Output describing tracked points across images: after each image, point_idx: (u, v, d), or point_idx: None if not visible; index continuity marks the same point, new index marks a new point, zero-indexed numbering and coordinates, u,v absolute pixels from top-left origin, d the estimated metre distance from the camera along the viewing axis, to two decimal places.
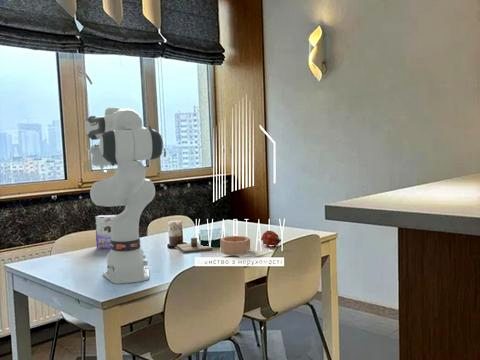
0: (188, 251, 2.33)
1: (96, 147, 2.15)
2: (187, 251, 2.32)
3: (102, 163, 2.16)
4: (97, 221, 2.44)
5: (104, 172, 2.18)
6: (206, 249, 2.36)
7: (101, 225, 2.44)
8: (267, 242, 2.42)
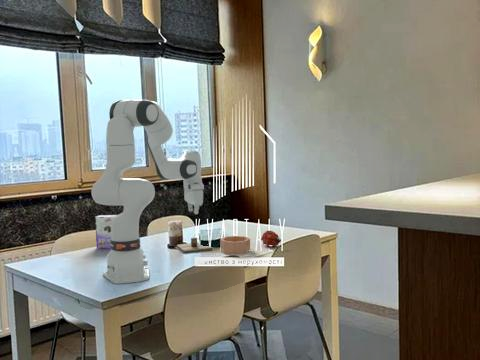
0: (188, 251, 2.33)
1: None
2: (187, 251, 2.32)
3: (186, 199, 2.43)
4: (97, 221, 2.44)
5: None
6: (206, 249, 2.36)
7: (101, 225, 2.44)
8: (267, 242, 2.42)
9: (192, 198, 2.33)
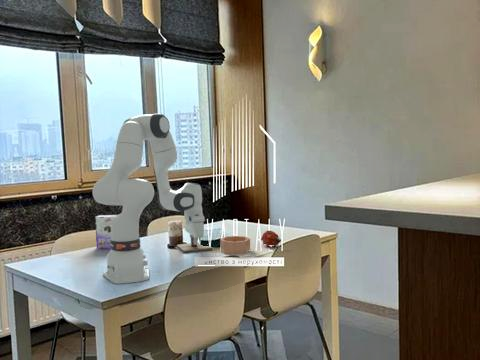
0: (188, 251, 2.33)
1: None
2: (187, 251, 2.32)
3: (187, 230, 2.45)
4: (97, 221, 2.44)
5: None
6: (206, 249, 2.36)
7: (101, 225, 2.44)
8: (267, 242, 2.42)
9: (193, 230, 2.34)
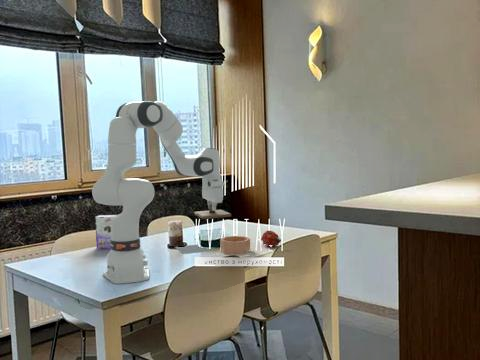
0: (207, 217, 2.29)
1: None
2: (206, 217, 2.29)
3: (204, 197, 2.41)
4: (97, 221, 2.44)
5: (208, 206, 2.39)
6: (225, 215, 2.33)
7: (101, 225, 2.44)
8: (267, 242, 2.42)
9: (212, 195, 2.31)
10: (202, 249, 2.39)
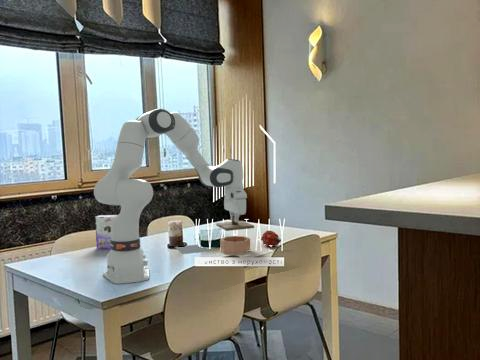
0: (230, 229, 2.27)
1: None
2: (229, 229, 2.27)
3: (226, 208, 2.39)
4: (97, 221, 2.44)
5: (231, 217, 2.37)
6: (248, 227, 2.30)
7: (101, 225, 2.44)
8: (267, 242, 2.42)
9: (234, 207, 2.29)
10: (202, 249, 2.39)
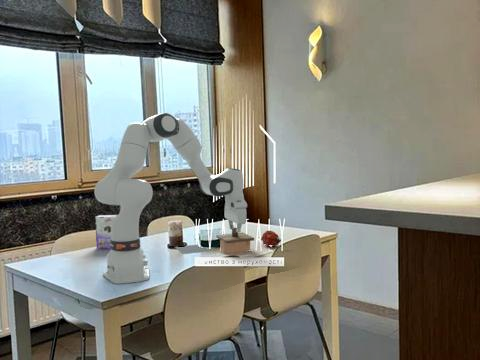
0: (230, 241, 2.27)
1: None
2: (229, 241, 2.27)
3: (227, 217, 2.39)
4: (97, 221, 2.44)
5: (229, 226, 2.39)
6: (248, 239, 2.30)
7: (101, 225, 2.44)
8: (267, 242, 2.42)
9: (235, 216, 2.29)
10: (202, 249, 2.39)
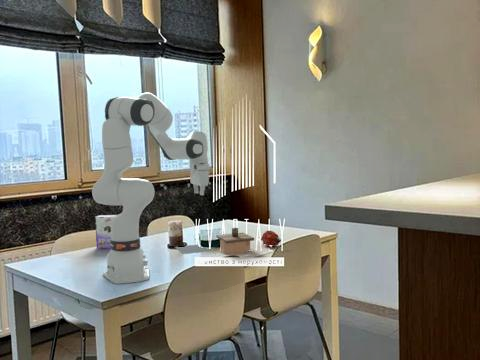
0: (230, 241, 2.27)
1: None
2: (229, 241, 2.27)
3: (192, 182, 2.41)
4: (97, 221, 2.44)
5: (194, 190, 2.41)
6: (248, 239, 2.30)
7: (101, 225, 2.44)
8: (267, 242, 2.42)
9: (198, 179, 2.30)
10: (202, 249, 2.39)
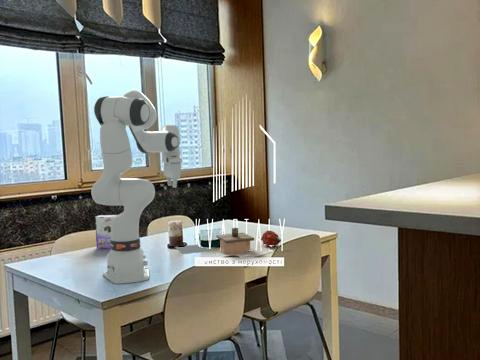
0: (230, 241, 2.27)
1: None
2: (229, 241, 2.27)
3: (165, 174, 2.43)
4: (97, 221, 2.44)
5: (168, 183, 2.43)
6: (248, 239, 2.30)
7: (101, 225, 2.44)
8: (267, 242, 2.42)
9: (170, 171, 2.33)
10: (202, 249, 2.39)
